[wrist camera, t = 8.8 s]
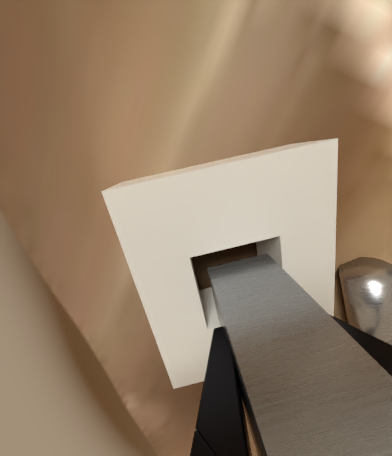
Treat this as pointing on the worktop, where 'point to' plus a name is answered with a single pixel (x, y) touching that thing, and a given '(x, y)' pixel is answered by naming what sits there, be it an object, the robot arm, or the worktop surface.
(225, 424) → the robot arm
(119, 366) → the worktop surface
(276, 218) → the socket block
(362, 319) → the round bit
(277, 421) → the square bit
